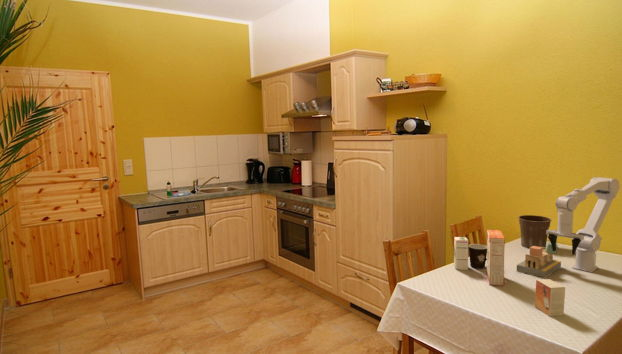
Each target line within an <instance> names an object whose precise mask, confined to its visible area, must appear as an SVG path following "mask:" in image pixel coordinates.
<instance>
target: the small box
mask: <svg viewBox="0 0 622 354" xmlns="http://www.w3.org/2000/svg"><path fill="white" fill-rule="evenodd" d="M565 296H566V287H565V286H564V285H561V284H559V283H558V282H556V281H553V280H552V279H549V278H548V279H545V278H543V279H536V281H535V296H534V299H535V300H534V307H535V308H537V309H538V310H540V311H541V312H542V313H544V314H545V315H547V316H548V317H556V316H558V317H559V316H564V313H565V310H564V309H565Z"/></svg>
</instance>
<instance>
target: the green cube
mask: <svg viewBox="0 0 622 354" xmlns="http://www.w3.org/2000/svg"><path fill="white" fill-rule="evenodd" d="M558 246H559V245H558V243H556V251H553V249H552V245H551V242H550V241H547V242H546V252H548V253H551V254H553V255H557V251H558V249H559V247H558Z"/></svg>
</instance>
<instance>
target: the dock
mask: <svg viewBox="0 0 622 354" xmlns="http://www.w3.org/2000/svg"><path fill="white" fill-rule="evenodd" d="M560 268H562V260H557V259H553V260H552V261H550V262H549V263H547V264H546V265H544V266H542V267H541V268H539V269H536V268H535V267H533V268H531V267H530V266H528V267H527V266H525V260H523V261H522V262H519V263H517V264H516V272H519V273H523V274H526V275H527V274H528V275H530V274H531V275H530V276H535V275H536V277H539V276H540V277H539V278H543V277H546V276H547V277H549V276H550V275H551V273H552V274H553V273H554V272H556V271H557V270H559V269H560ZM548 275H549V276H548ZM547 277H546V278H547Z"/></svg>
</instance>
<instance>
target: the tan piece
mask: <svg viewBox="0 0 622 354" xmlns="http://www.w3.org/2000/svg"><path fill="white" fill-rule="evenodd" d="M542 248H543V253H542V257H540V258H539V257H537V256H532V255H530V253H529V254H528V253H525V259H524V261H525V266H527V267H528V266H530V267H531V268H533V267H535V268H536V269H539V268H541V267H542V266H544V265H546V264H547V263H549V262H550V261H552V260H554V254H551V253H548V252H546V247H542Z"/></svg>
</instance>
